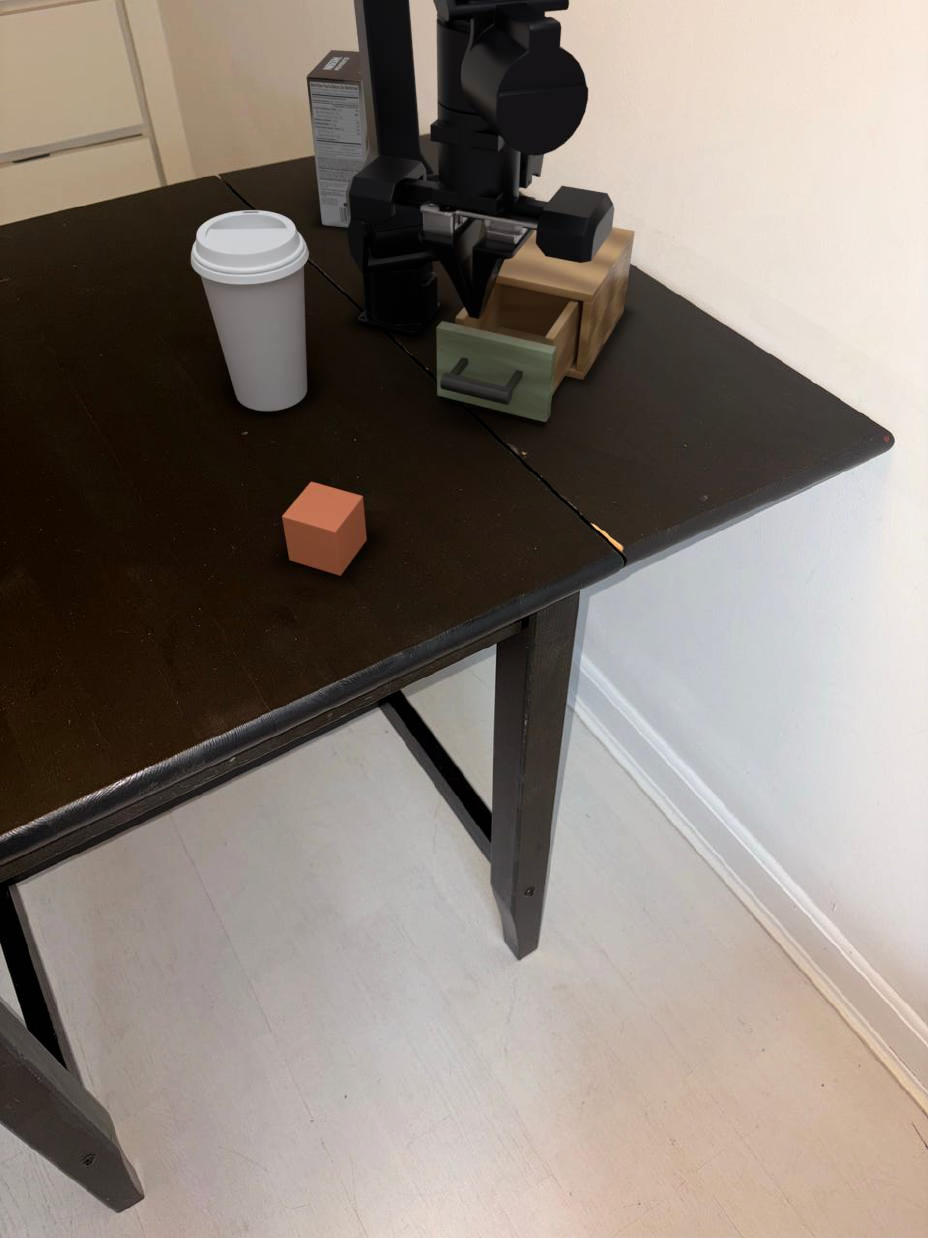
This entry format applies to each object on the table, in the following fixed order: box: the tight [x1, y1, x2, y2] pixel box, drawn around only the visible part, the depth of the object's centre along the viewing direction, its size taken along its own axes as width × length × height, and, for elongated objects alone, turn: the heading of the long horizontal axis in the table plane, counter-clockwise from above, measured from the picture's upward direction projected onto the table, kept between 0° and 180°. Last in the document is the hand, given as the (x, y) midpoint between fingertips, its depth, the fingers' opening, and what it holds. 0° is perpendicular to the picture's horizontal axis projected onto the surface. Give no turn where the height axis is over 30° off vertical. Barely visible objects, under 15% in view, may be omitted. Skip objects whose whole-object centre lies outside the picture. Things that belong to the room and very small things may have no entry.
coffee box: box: [305, 49, 369, 229], centre depth 108 cm, size 9×6×16 cm
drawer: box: [435, 283, 584, 423], centre depth 85 cm, size 17×10×7 cm, turn 157°
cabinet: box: [495, 226, 635, 381], centre depth 92 cm, size 14×12×9 cm
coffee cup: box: [190, 209, 310, 412], centre depth 82 cm, size 10×10×15 cm
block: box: [281, 481, 368, 577], centre depth 71 cm, size 4×4×4 cm
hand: (476, 315), depth 74 cm, fingers closed
